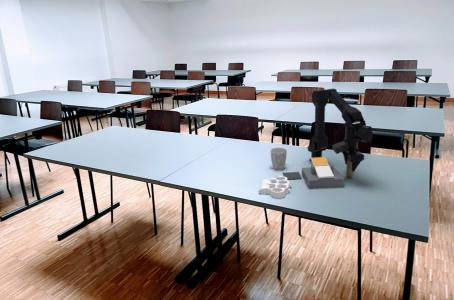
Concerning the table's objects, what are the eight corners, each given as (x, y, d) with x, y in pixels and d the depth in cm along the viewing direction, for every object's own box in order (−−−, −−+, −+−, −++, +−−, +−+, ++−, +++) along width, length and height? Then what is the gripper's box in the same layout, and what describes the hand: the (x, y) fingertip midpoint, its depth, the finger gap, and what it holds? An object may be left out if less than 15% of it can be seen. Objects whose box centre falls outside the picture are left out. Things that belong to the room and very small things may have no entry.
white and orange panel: (311, 159, 171) (311, 157, 170) (325, 158, 171) (325, 156, 170) (318, 178, 158) (318, 176, 158) (333, 177, 158) (334, 175, 157)
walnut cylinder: (345, 176, 169) (346, 159, 167) (351, 176, 169) (352, 158, 167) (347, 178, 167) (348, 161, 164) (353, 178, 167) (354, 161, 164)
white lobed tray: (263, 181, 170) (293, 183, 166) (257, 197, 154) (290, 200, 150) (263, 175, 169) (293, 176, 165) (257, 191, 153) (290, 193, 149)
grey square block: (301, 175, 174) (301, 160, 172) (333, 173, 174) (334, 158, 171) (308, 188, 159) (309, 172, 156) (343, 186, 159) (344, 171, 156)
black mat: (282, 173, 177) (282, 172, 177) (298, 172, 177) (298, 171, 177) (285, 180, 169) (285, 178, 169) (301, 179, 169) (301, 178, 169)
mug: (277, 162, 193) (277, 145, 190) (291, 164, 188) (291, 147, 185) (268, 168, 184) (267, 151, 181) (282, 171, 180) (282, 153, 177)
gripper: (328, 132, 170) (327, 162, 175) (340, 144, 153) (339, 176, 158) (351, 131, 170) (349, 160, 175) (365, 142, 153) (363, 175, 158)
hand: (349, 167), depth 167 cm, fingers open, 9 cm apart
